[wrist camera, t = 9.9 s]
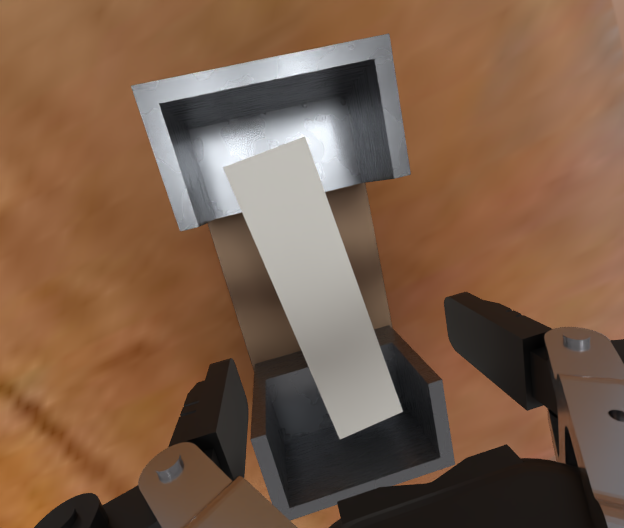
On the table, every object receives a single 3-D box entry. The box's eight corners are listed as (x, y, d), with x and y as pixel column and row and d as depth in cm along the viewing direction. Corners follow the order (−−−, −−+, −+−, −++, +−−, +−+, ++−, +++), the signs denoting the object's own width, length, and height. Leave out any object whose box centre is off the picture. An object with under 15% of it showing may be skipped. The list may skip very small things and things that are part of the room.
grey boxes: (180, 126, 19) (131, 85, 12) (344, 91, 20) (389, 33, 13) (274, 428, 25) (279, 524, 18) (401, 388, 26) (455, 464, 19)
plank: (179, 115, 21) (170, 106, 19) (337, 81, 22) (344, 70, 20) (275, 423, 27) (276, 441, 25) (396, 386, 28) (406, 400, 26)
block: (231, 173, 18) (222, 167, 14) (296, 148, 18) (305, 136, 14) (326, 396, 22) (339, 439, 18) (379, 374, 22) (403, 411, 18)
